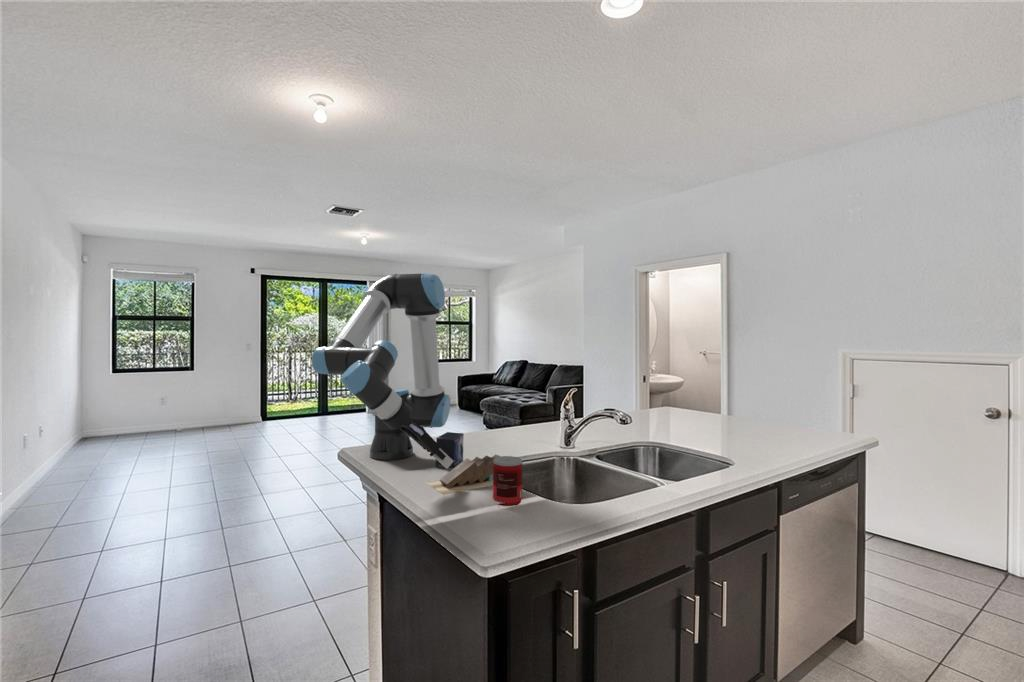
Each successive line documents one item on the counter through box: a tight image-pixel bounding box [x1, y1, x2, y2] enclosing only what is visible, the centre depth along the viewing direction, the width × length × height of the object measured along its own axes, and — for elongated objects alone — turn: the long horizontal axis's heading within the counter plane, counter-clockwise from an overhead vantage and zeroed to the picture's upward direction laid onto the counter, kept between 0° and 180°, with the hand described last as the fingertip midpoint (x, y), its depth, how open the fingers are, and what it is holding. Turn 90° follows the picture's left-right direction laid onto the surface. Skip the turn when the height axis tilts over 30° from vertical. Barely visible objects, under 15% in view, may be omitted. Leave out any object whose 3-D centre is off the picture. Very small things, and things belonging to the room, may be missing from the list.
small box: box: [435, 431, 464, 470], centre depth 161 cm, size 11×6×10 cm, turn 168°
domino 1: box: [439, 458, 477, 489], centre depth 139 cm, size 5×2×10 cm
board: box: [425, 479, 493, 495], centre depth 140 cm, size 12×17×1 cm
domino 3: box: [467, 455, 494, 485], centre depth 143 cm, size 5×2×10 cm
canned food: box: [492, 455, 523, 507], centre depth 128 cm, size 8×8×11 cm
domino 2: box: [456, 456, 487, 487], centre depth 141 cm, size 5×2×10 cm
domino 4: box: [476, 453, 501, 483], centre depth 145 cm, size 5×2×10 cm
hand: (449, 464), depth 138 cm, fingers closed
